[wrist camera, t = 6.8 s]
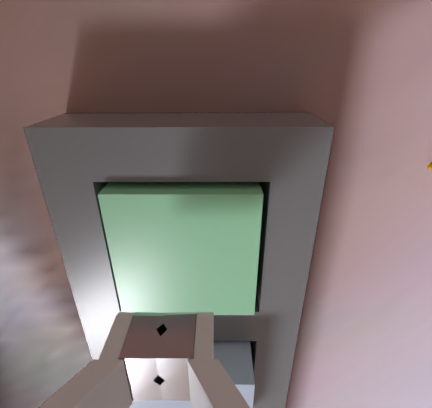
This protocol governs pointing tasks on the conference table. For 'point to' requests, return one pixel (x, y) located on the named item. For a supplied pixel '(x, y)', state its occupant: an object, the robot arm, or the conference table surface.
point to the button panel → (191, 172)
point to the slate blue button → (234, 366)
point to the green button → (184, 245)
